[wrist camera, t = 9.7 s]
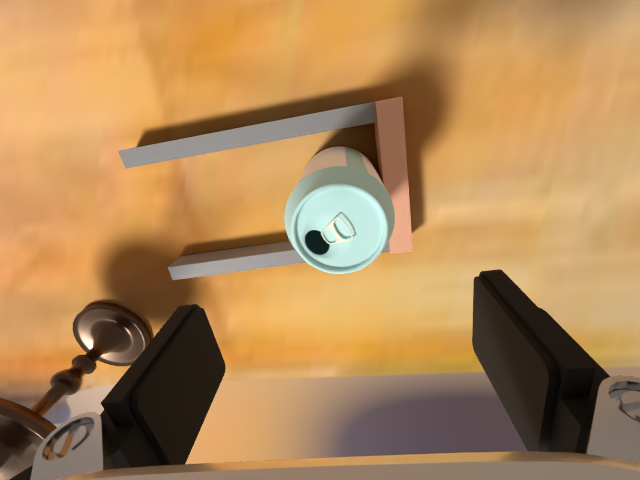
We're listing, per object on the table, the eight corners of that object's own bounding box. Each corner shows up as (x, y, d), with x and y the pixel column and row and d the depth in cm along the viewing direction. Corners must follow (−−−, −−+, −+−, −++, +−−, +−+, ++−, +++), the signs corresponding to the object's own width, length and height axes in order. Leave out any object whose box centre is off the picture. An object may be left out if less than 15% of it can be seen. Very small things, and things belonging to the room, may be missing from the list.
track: (395, 97, 26) (402, 96, 23) (406, 238, 31) (412, 251, 28) (135, 147, 29) (114, 151, 26) (183, 268, 34) (170, 282, 31)
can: (359, 229, 31) (370, 297, 20) (292, 205, 30) (265, 262, 19) (389, 161, 28) (421, 198, 17) (316, 133, 27) (301, 153, 16)
